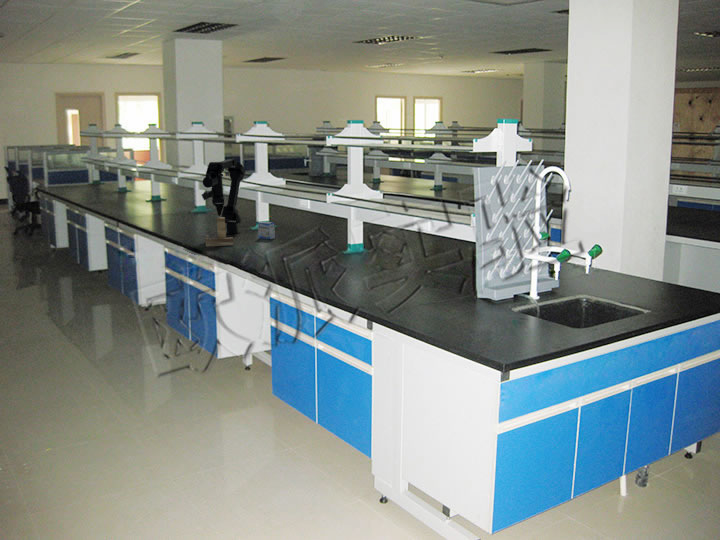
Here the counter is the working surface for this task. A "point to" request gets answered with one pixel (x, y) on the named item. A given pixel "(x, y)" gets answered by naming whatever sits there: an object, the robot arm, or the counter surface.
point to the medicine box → (266, 230)
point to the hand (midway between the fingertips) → (219, 214)
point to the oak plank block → (221, 227)
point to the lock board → (218, 241)
